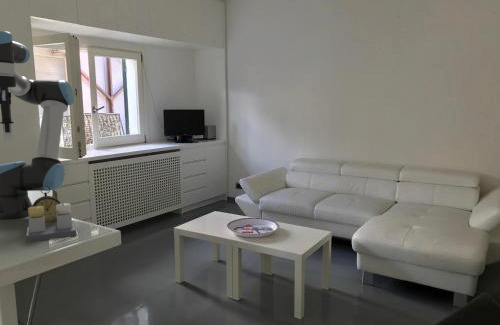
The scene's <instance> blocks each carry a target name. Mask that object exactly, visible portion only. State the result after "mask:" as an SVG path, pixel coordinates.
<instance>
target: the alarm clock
mask: <svg viewBox="0 0 500 325" xmlns="http://www.w3.org/2000/svg"><path fill="white" fill-rule="evenodd" d="M43 187H45V186H43ZM43 187H42V188H43ZM46 187H48V186H46ZM42 188H41V189H42ZM48 188H49V187H48ZM40 192H41V194H43V195H44V196H41V197H38V198H37V199H36V200H35V201H34V202H33V203H32V207H33V206H44V217H45V224H51V223H57V218H56V205H57V204H62V203H61V201H60V200H59V198H57V197H54V196H53V195H47V194H49V193H50V192H51V190H50V188H49V191H44V192H43V191H40Z"/></svg>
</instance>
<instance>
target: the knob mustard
mask: <svg viewBox="0 0 500 325" xmlns="http://www.w3.org/2000/svg"><path fill="white" fill-rule="evenodd" d="M28 213H29V215H28V218H29V217H34V218H38V217H40V216H43V215H44V206H33V207H29V208H28Z"/></svg>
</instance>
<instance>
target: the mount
mask: <svg viewBox="0 0 500 325" xmlns="http://www.w3.org/2000/svg"><path fill="white" fill-rule="evenodd" d="M56 218H57V221H56V222H55V223H51V224H45V217H44V215H43V216H40V217H38V218H34V217H29V216H28V226H27V228H26V236H25V238H26V241H25V242H26V243H30V242H31V243H32V242H38V241H44V240H45V241H46V240H51V239H61V238H66V237H74V236H75V237H76V236H77V228H76V225H75V221H74V220H73V218H72V211H71V212H70V213H67V214H65V215H61V214H56Z"/></svg>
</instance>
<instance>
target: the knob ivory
mask: <svg viewBox="0 0 500 325" xmlns="http://www.w3.org/2000/svg"><path fill="white" fill-rule="evenodd" d="M71 205H72V204H71V203H68V202H65V203H64V202H63V203H61V204H57V205H56V214H61V215H65V214H67V213H70V212H71V213H72V208H71V207H72V206H71Z"/></svg>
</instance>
